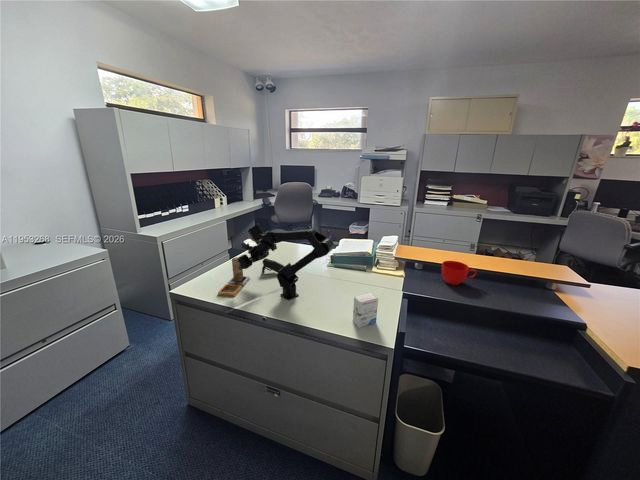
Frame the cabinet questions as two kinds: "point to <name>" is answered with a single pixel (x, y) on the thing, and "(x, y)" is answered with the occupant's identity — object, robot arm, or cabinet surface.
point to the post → (237, 271)
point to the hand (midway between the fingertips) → (245, 265)
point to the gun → (271, 265)
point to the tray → (233, 287)
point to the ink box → (365, 309)
